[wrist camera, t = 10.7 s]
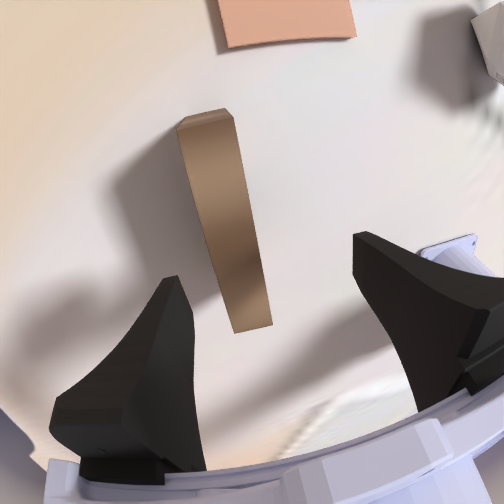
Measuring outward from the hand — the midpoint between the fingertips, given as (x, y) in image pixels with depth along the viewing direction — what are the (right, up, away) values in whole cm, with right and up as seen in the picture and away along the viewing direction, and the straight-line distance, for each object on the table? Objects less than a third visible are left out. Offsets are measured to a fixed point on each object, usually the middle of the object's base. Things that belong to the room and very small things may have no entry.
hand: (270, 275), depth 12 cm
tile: (+2, +14, +3) cm, 14 cm away
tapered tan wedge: (-3, +4, +8) cm, 9 cm away
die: (+20, +19, +3) cm, 28 cm away
